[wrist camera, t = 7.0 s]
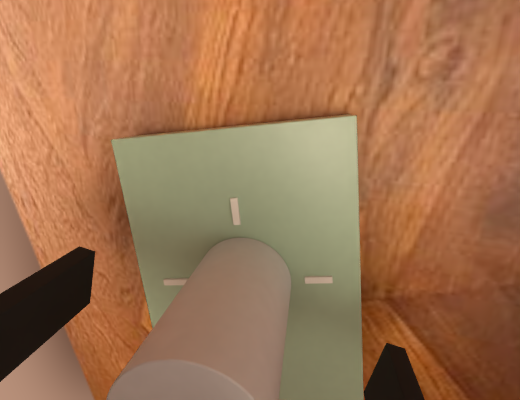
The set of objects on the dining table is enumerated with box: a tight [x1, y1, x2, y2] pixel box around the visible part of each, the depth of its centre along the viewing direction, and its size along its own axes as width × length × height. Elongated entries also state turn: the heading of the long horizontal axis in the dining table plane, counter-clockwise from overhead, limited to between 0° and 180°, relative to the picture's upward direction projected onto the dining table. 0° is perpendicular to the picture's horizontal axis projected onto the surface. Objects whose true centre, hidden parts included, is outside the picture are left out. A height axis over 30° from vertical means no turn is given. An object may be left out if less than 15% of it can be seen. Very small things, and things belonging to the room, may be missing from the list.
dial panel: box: [111, 114, 364, 400], centre depth 18 cm, size 16×12×3 cm
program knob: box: [107, 238, 291, 400], centre depth 13 cm, size 5×5×9 cm
